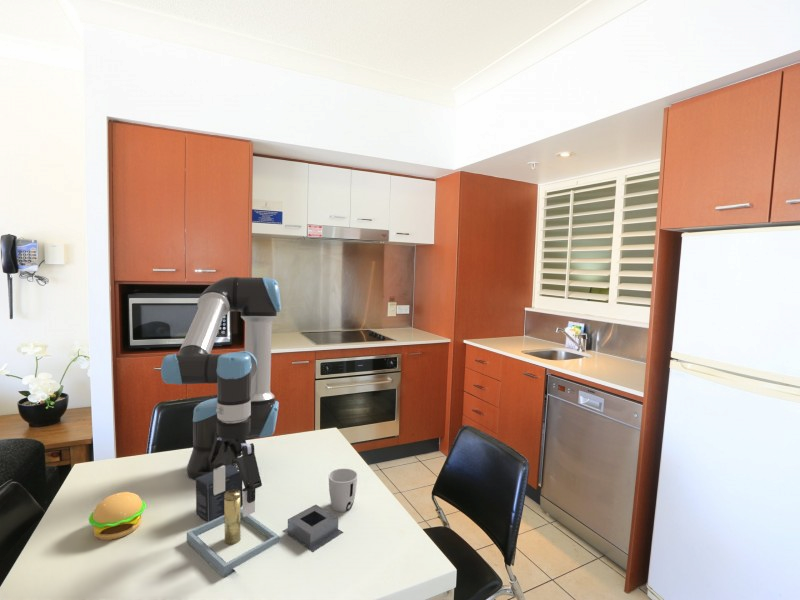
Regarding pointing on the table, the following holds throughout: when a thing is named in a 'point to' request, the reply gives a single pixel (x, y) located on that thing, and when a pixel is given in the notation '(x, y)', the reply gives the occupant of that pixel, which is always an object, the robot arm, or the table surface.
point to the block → (313, 527)
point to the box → (214, 504)
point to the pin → (232, 516)
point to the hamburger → (117, 515)
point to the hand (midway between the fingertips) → (233, 502)
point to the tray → (228, 567)
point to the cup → (342, 489)
